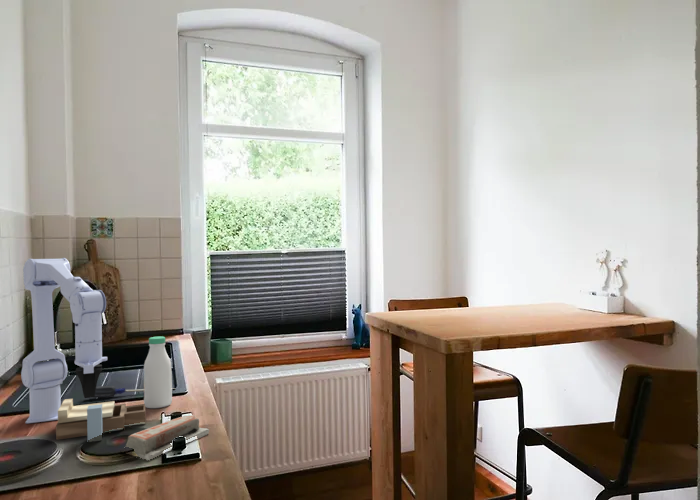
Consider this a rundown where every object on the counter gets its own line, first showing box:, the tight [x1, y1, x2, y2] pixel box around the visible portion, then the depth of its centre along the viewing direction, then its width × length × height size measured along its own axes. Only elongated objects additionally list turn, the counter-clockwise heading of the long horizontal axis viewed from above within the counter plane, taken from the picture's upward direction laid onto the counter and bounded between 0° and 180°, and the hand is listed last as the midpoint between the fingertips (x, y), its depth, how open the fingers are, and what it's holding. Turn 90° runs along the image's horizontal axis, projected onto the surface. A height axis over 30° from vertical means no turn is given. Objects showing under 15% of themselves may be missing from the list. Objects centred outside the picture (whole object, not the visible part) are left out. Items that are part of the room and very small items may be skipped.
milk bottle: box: [143, 335, 173, 409], centre depth 147 cm, size 8×8×20 cm
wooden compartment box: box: [55, 403, 146, 441], centre depth 130 cm, size 12×20×3 cm, turn 112°
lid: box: [57, 398, 116, 423], centre depth 128 cm, size 10×12×3 cm
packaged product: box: [125, 415, 210, 461], centre depth 118 cm, size 18×5×10 cm
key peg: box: [86, 404, 104, 441], centre depth 120 cm, size 3×3×8 cm
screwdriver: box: [91, 385, 176, 399], centre depth 158 cm, size 26×4×4 cm, turn 112°
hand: (89, 397), depth 120 cm, fingers closed
